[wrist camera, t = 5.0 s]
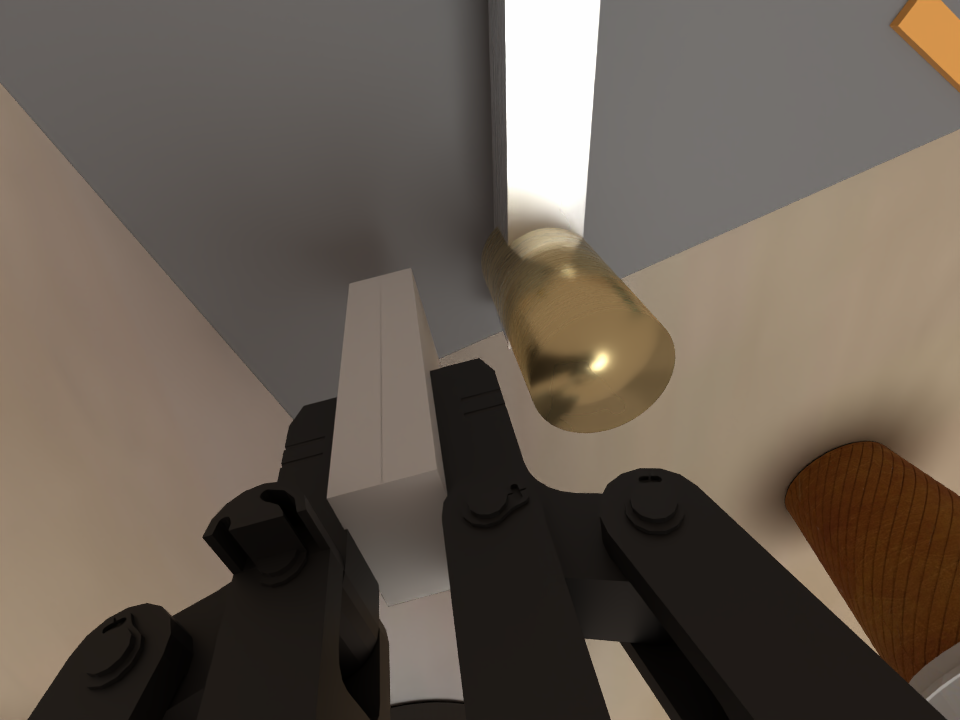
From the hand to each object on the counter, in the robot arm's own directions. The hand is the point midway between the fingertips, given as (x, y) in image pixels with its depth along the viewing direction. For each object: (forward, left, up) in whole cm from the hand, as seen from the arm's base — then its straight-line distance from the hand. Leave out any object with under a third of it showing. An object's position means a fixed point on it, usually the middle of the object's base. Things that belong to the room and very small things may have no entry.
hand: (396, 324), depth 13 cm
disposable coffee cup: (+16, -24, -6) cm, 29 cm away
